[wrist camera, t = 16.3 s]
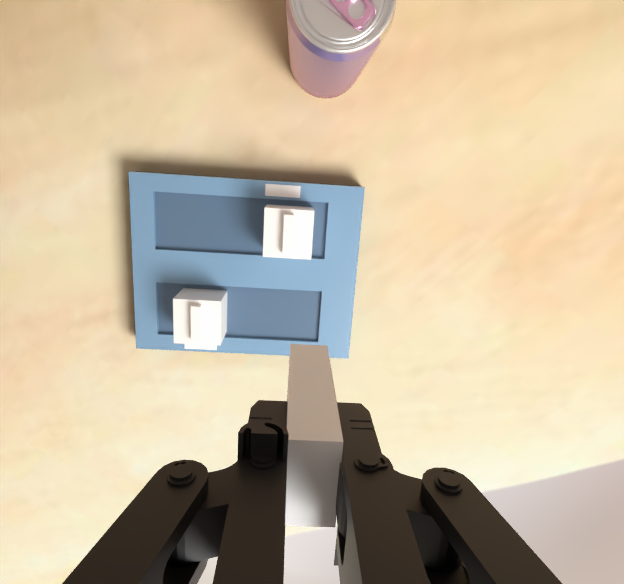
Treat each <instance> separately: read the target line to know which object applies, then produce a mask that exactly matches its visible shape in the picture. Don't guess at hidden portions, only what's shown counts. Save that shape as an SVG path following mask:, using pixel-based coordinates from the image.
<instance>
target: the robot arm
mask: <svg viewBox="0 0 624 584" xmlns="http://www.w3.org/2000/svg"><path fill="white" fill-rule="evenodd" d="M336 515H337V524H338V529H337V539H336V550H335V560H334V565H338V566H339V575H340V584H562V583H561V582H560V581H559V580H558V578H557V577H556V576H555V575H554V574H553V573H552V572H551V571H550V569H549V568H548V567H547V566H546V565H545V564H544V563H543V562H542V561H541V559H540V558H539V557H538V556H537V555H536V554H535V553H534V552H533V550H532V549H531V548H530V547H529V546H528V545H527V544H526V543H525V541H524V540H523V539H522V538H521V537H520V536H519V535H518V534H517V533H516V531H515V530H514V529H513V528H512V527H511V526H510V525H509V524H508V522H506V520H505V519H504V518H503V517H502V516H501V515H500V514H499V512H498V511H497V510H496V509H495V508H494V507H493V506H492V505H491V503H490V502H489V501H488V500H487V499H486V498H485V497H484V496H483V494H482V493H481V492H480V491H479V490H478V489H477V488H476V487H475V485H474V484H473V483H472V482H471V481H470V480H469V479H468V478H466V477H465V476H464V475H463V474H460V473H458V472H456V471H454V470H451V469H447V468H432V469H429V470H427V471H426V472H425V473H424V474H423V478H422V480H421V479H418V478H414V477H410V476H407V475H404V474H401V473H399V472H397V471H395V470H394V469H393V466H392V464H391V462H390V461H389V459H388V458H387V457H385V456H384V455H383V454H382V453H381V449H380V446H379V443H378V439H377V436H376V433H375V430H374V426H373V423H372V419H371V416H370V412H369V411H368V410H367V409H366V408H365V407H364V406H363V405H362V404H359V403H337V401H336V395H335V389H334V383H333V377H332V371H331V365H330V359H329V353H328V347H327V346H325V345H304V344H290V360H289V377H288V395H287V401H264V400H258V401H257V402H256V403H255V404H254V405H253V406H252V407H251V411H250V416H249V421H248V423H247V424H246V425H244V426H243V427H241V429H240V431H239V432H238V461H237V462H236V463H235V464H233V465H232V466H230V467H228V468H226V469H222V470H219V471H214V472H209V473H208V471H207V468H206V467H205V466H204V465H203V464H202V463H199V462H196V461H194V460H180V461H174V462H172V463H169V464H167V465H165V466H163V467H162V468H161V469H160V470H159V471H157V473H156V474H155V475H154V476H153V477H152V478H151V480H150V481H149V482H148V483H147V484H146V486H145V487H144V488H143V489H142V490H141V491H140V493H139V494H138V495H137V496H136V497H135V498H134V500H133V501H132V502H131V503H130V504H129V506H128V507H127V508H126V509H125V510H124V511H123V513H122V514H121V515H120V516H119V517H118V519H117V520H116V521H115V522H114V523H113V524H112V526H111V527H110V528H109V529H108V530H107V532H106V533H105V534H104V535H103V536H102V537H101V539H100V540H99V541H98V542H97V543H96V545H95V546H94V547H93V548H92V549H91V550H90V552H89V553H88V554H87V555H86V556H85V557H84V559H83V560H82V561H81V562H80V563H79V565H78V566H77V567H76V568H75V569H74V570H73V572H72V573H71V574H70V575H69V576H68V578H67V579H66V580H65V581H64V582H63V583H62V584H197V583H198V581H199V579H200V577H201V575H202V573H203V571H204V569H205V567H206V564H207V561H208V559H209V558H213V557H217V556H218V560H217V565H216V570H215V575H214V580H213V584H283V575H284V544H285V526H314V527H335V524H336Z"/></svg>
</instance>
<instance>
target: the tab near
mask: <svg viewBox="0 0 624 584" xmlns="http://www.w3.org/2000/svg"><path fill="white" fill-rule="evenodd" d="M313 226H314V208H313V207H302V206H287V205H271V204H267V205H266V206H265V208H264V235H263V257H273V258H290V259H307V260H311V257H312V242H313Z"/></svg>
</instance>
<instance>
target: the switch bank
mask: <svg viewBox="0 0 624 584" xmlns="http://www.w3.org/2000/svg"><path fill="white" fill-rule="evenodd" d="M364 188H365V187H362V186H348V185H333V184H318V183H303V182H287V181H272V180H257V179H242V178H227V177H212V176H197V175H182V174H167V173H152V172H137V171H136V172H129V194H130V217H131V240H132V263H133V286H134V309H135V332H136V348H140V349H161V350H182V351H203V352H224V353H245V354H266V355H287V356H290V344H304V345H325V346H327V347H328V353H329V358H348V357H349V346H350V336H351V325H352V315H353V304H354V294H355V283H356V272H357V262H358V251H359V241H360V230H361V219H362V209H363V198H364ZM267 204H271V205H287V206H302V207H313V208H314V226H313V242H312V257H311V260H307V259H290V258H273V257H263V235H264V208H265V206H266V205H267ZM183 288H193V289H212V290H227V332H226V334H225V337H224V339H223V341H222V343H221V346H220V345H200V344H179V343H174V329H173V298H174V297H175V296H176V295H177V294H178V293H179V292H180V291H181V290H182V289H183Z"/></svg>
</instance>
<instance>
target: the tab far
mask: <svg viewBox="0 0 624 584" xmlns="http://www.w3.org/2000/svg"><path fill="white" fill-rule="evenodd" d="M173 329H174V343H179V344H200V345H220V346H221V343H222V341H223V339H224V337H225V334H226V332H227V290H212V289H193V288H183V289H182V290H181V291H180V292H179V293H178V294H177V295H176V296H175V297H174V298H173Z"/></svg>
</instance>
